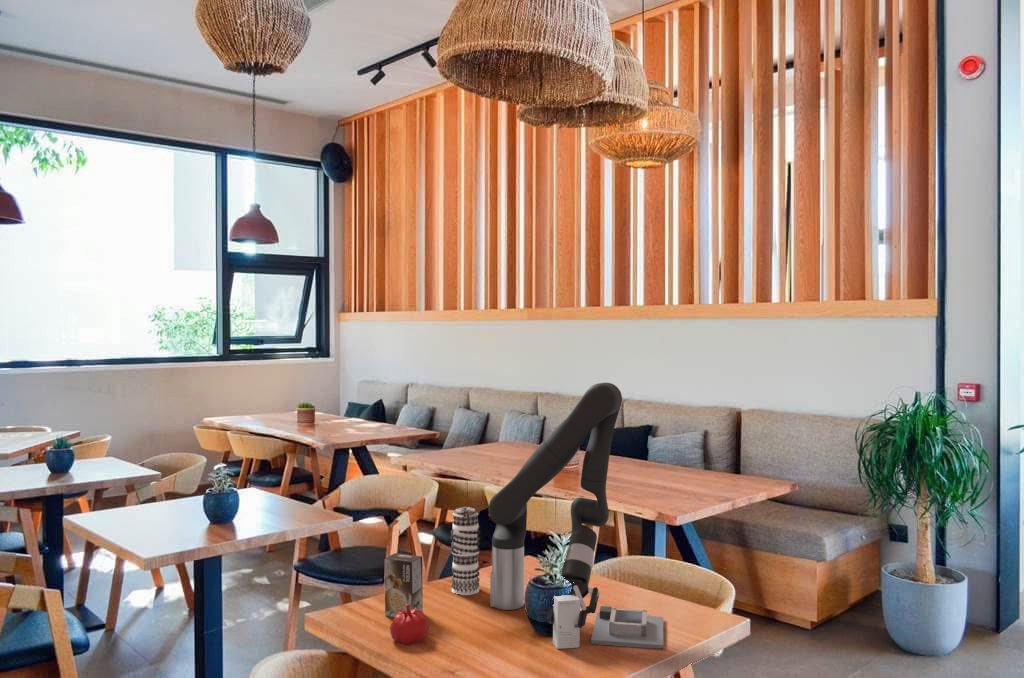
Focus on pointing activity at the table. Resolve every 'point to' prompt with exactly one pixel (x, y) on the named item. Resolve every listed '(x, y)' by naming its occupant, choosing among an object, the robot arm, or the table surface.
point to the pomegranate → (409, 626)
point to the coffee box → (403, 583)
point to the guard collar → (628, 628)
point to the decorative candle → (465, 551)
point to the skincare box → (566, 621)
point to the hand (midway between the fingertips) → (564, 624)
